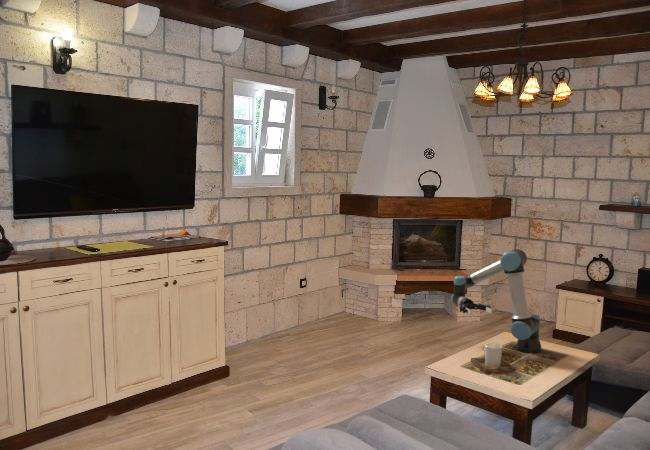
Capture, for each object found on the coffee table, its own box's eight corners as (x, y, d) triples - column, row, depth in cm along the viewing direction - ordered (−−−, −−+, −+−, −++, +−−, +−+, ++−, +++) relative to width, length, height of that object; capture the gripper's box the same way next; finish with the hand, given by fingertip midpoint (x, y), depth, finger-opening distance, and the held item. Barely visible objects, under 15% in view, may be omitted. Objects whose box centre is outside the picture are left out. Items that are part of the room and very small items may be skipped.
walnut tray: (499, 360, 313) (499, 356, 313) (515, 371, 295) (515, 367, 295) (470, 362, 310) (470, 357, 309) (485, 373, 292) (485, 369, 292)
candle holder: (498, 370, 296) (499, 349, 295) (481, 366, 302) (481, 345, 300) (503, 365, 304) (504, 345, 302) (487, 361, 309) (487, 341, 308)
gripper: (483, 308, 339) (500, 317, 318) (447, 310, 334) (461, 319, 313) (484, 297, 338) (500, 305, 317) (447, 298, 333) (462, 306, 313)
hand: (481, 312), depth 315 cm, fingers open, 13 cm apart
